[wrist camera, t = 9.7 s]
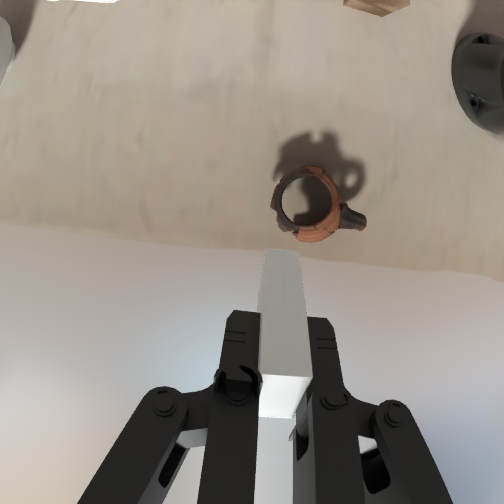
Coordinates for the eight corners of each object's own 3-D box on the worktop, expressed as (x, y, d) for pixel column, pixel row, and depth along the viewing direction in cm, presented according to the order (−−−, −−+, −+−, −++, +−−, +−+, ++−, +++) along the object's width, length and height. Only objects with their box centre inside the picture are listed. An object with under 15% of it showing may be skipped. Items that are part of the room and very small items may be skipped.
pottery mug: (272, 235, 42) (260, 235, 34) (284, 169, 42) (274, 154, 33) (357, 251, 40) (365, 255, 32) (368, 183, 39) (378, 171, 31)
